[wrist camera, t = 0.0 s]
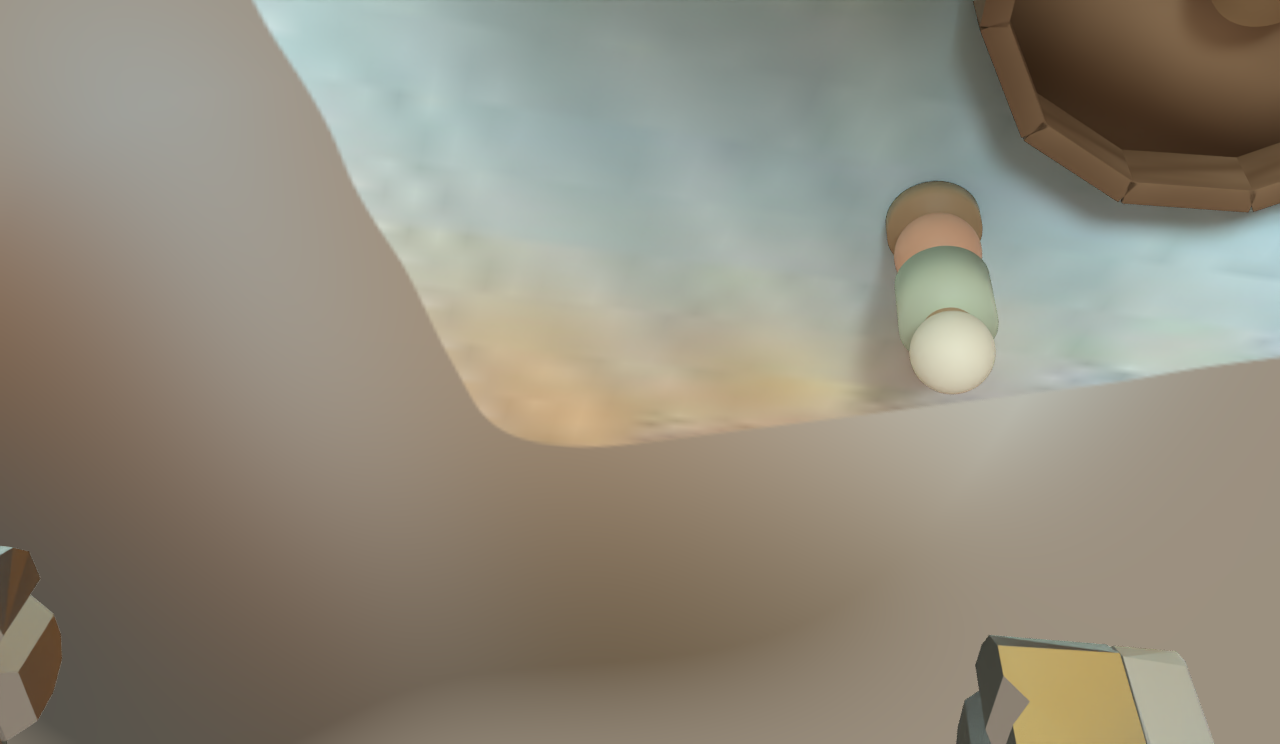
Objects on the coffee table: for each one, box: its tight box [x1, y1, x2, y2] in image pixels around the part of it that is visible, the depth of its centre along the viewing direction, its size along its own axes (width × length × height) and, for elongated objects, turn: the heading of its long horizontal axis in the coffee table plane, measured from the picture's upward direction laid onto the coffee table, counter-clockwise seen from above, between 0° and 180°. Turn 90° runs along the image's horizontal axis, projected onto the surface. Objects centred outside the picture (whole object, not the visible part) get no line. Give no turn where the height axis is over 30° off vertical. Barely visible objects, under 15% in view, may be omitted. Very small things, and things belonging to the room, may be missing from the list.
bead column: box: [886, 181, 998, 394], centre depth 49 cm, size 4×4×10 cm
